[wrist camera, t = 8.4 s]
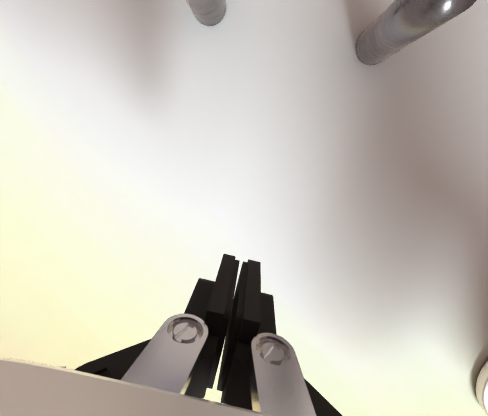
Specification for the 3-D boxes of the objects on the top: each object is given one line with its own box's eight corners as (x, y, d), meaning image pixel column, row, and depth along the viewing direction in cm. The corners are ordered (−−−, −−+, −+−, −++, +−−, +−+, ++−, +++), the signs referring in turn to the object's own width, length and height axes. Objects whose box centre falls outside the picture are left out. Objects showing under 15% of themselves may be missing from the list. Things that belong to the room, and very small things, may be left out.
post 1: (395, 31, 20) (496, -46, 12) (383, 68, 21) (469, 21, 12) (362, 23, 20) (439, -60, 12) (351, 60, 21) (416, 8, 12)
